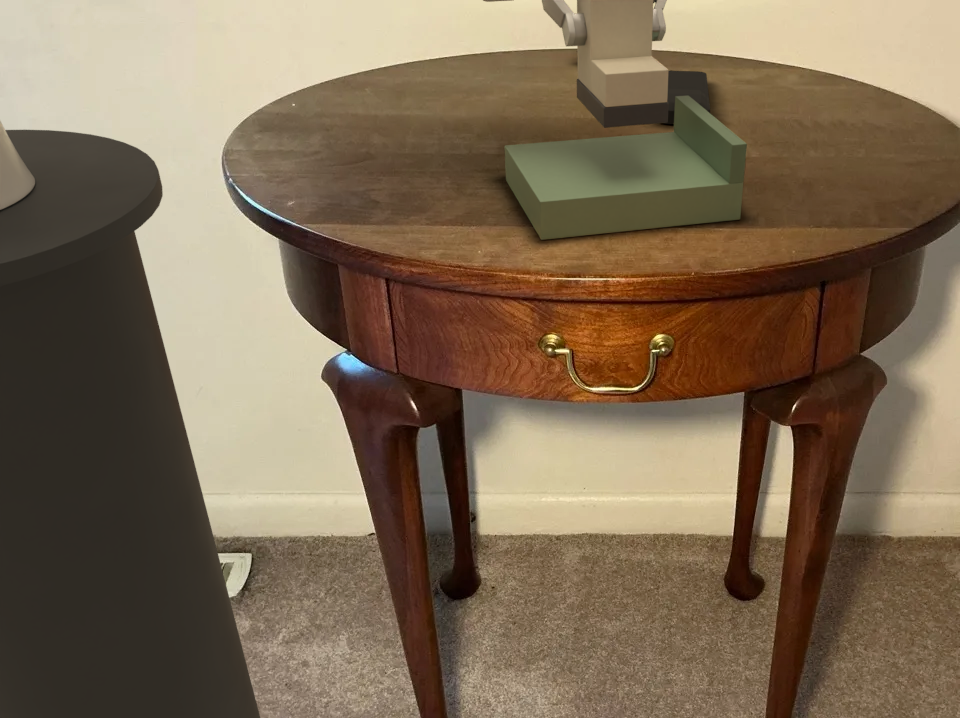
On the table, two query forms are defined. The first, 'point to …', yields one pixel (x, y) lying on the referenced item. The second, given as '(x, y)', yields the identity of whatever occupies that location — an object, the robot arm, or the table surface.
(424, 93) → the table surface
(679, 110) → the green l-shaped bracket
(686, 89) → the remote control
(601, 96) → the beige stepped block
